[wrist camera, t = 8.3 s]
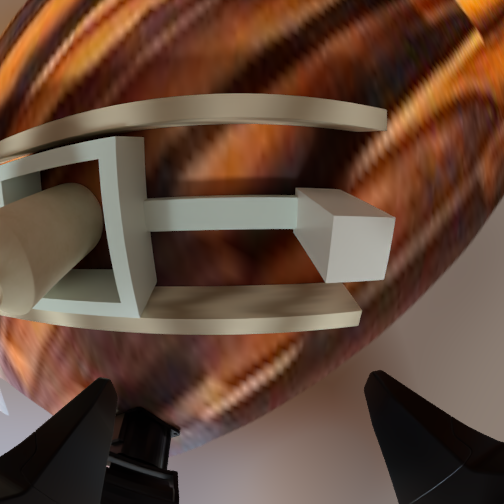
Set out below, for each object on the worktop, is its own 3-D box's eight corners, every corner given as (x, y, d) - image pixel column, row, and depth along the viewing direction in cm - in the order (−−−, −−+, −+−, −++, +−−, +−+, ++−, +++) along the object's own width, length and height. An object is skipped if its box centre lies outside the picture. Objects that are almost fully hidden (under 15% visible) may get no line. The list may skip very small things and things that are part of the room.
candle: (40, 231, 17) (-43, 291, 7) (60, 169, 15) (-44, 202, 6) (91, 266, 18) (18, 350, 9) (115, 204, 17) (23, 266, 7)
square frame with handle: (341, 137, 16) (402, 137, 9) (329, 277, 19) (368, 337, 13) (30, 159, 14) (-34, 176, 8) (51, 279, 18) (5, 326, 12)
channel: (356, 114, 15) (448, 103, 7) (339, 295, 20) (389, 378, 12) (-37, 167, 13) (-98, 189, 5) (-12, 289, 18) (-59, 334, 10)
